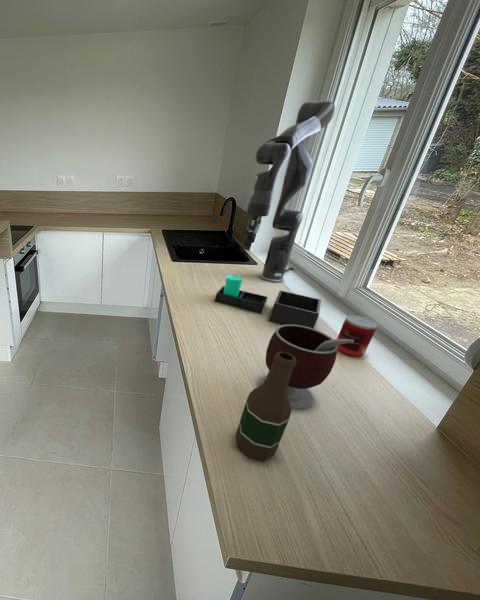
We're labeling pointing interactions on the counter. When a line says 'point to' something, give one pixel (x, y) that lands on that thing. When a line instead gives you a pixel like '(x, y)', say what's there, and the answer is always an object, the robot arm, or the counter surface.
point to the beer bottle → (266, 411)
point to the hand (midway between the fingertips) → (249, 244)
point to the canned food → (356, 335)
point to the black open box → (295, 310)
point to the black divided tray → (243, 300)
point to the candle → (232, 285)
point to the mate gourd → (304, 359)
